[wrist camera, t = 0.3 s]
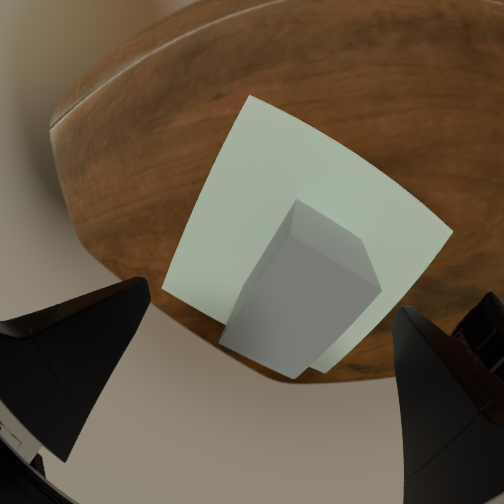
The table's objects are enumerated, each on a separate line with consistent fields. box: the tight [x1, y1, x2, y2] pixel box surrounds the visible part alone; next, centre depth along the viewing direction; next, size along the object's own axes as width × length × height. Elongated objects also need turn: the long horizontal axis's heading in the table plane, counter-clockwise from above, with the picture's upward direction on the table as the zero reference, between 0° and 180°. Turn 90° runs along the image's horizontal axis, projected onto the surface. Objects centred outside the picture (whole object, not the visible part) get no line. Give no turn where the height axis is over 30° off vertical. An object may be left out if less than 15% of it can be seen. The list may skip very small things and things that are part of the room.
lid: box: [162, 95, 453, 379], centre depth 13 cm, size 13×13×7 cm
